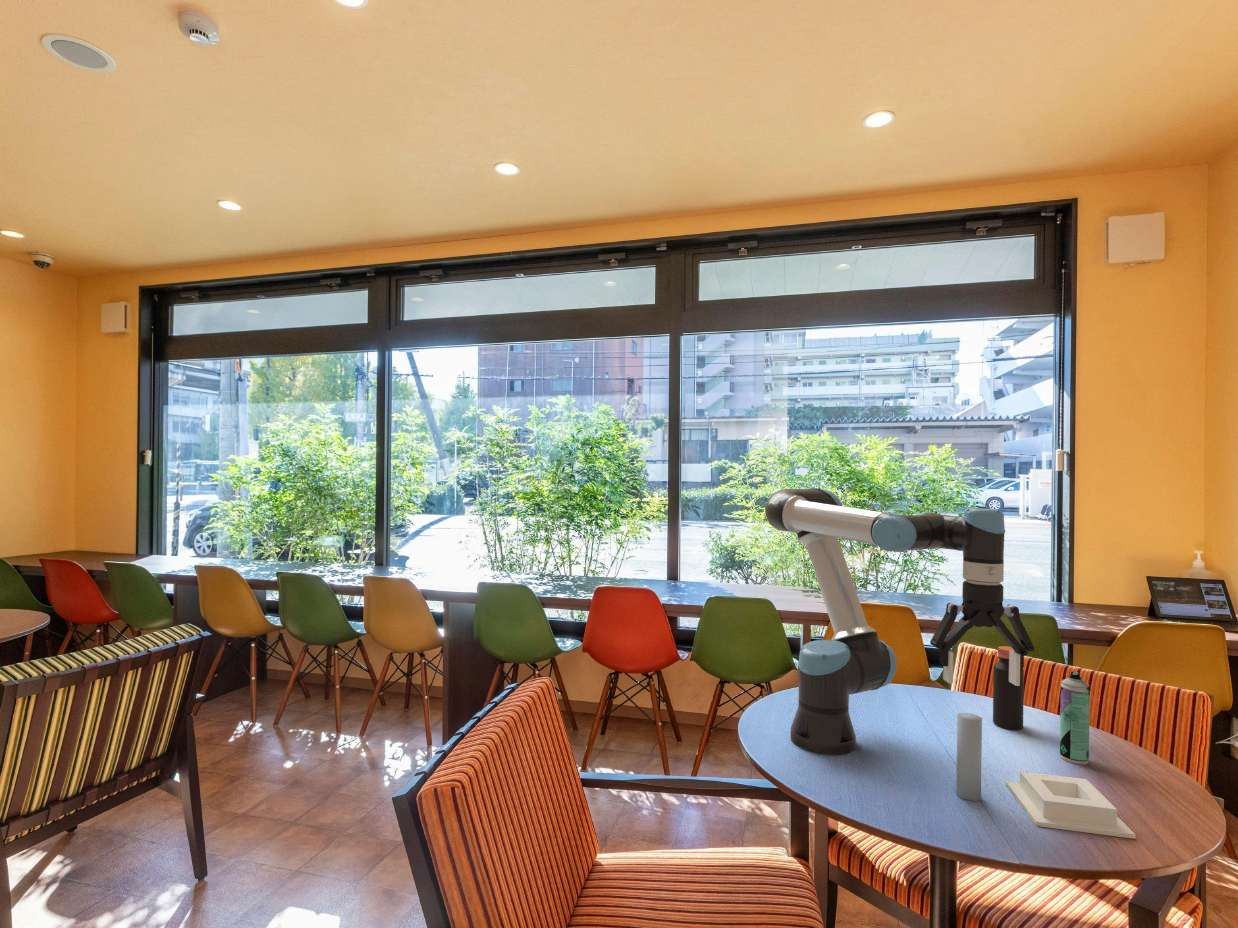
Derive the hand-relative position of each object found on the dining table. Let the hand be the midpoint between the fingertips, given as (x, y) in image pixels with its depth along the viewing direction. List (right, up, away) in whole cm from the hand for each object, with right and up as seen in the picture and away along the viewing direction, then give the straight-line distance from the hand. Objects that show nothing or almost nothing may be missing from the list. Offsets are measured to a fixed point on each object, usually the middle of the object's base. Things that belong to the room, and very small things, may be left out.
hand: (981, 682), depth 135 cm
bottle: (+25, -22, +32) cm, 47 cm away
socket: (+11, -22, -9) cm, 26 cm away
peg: (-5, -22, -4) cm, 23 cm away
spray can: (+29, -22, +13) cm, 39 cm away
